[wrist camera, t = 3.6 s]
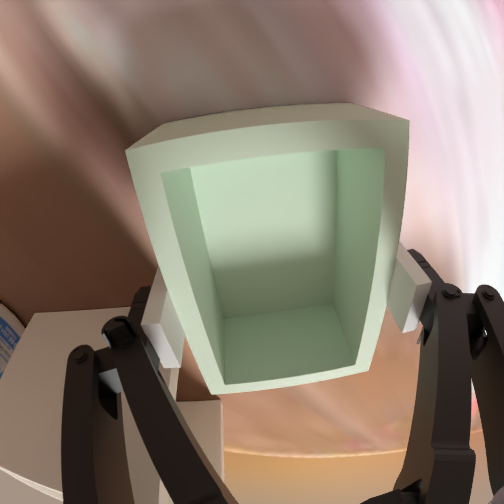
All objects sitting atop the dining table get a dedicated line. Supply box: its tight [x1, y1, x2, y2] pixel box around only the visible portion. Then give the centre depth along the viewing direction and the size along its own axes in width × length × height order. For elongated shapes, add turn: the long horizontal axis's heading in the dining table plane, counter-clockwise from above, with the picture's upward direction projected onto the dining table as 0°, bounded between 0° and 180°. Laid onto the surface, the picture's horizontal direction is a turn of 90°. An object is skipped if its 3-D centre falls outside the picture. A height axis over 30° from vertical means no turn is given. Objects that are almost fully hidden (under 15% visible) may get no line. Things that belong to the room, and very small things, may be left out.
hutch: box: [0, 307, 225, 504], centre depth 18 cm, size 15×14×14 cm
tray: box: [125, 103, 409, 395], centre depth 15 cm, size 10×14×6 cm
